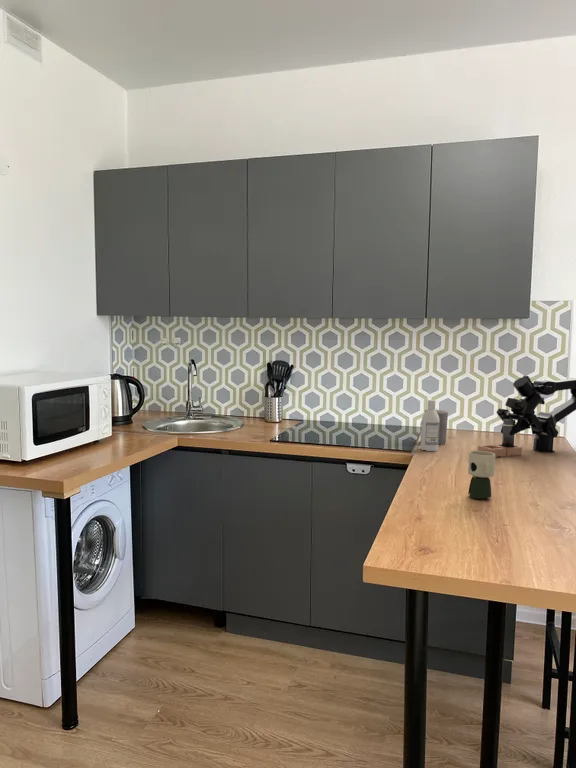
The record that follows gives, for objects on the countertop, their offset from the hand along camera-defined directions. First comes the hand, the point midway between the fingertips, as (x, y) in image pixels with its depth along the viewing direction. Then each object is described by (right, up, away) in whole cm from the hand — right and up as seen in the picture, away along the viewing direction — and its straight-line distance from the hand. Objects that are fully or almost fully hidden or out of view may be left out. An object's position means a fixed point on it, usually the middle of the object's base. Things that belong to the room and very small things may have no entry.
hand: (505, 433), depth 234 cm
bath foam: (-29, -7, +4) cm, 30 cm away
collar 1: (-6, -8, -2) cm, 10 cm away
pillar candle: (-23, -6, +20) cm, 31 cm away
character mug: (-31, -13, -64) cm, 72 cm away
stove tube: (+1, -6, +1) cm, 7 cm away
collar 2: (+1, -8, +1) cm, 8 cm away
